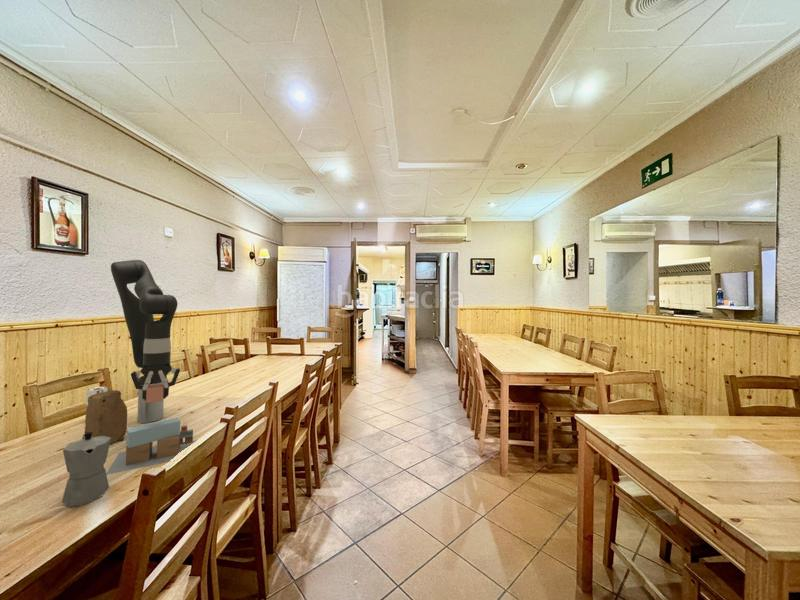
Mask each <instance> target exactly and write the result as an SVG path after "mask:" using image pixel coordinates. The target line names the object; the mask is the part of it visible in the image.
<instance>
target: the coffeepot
mask: <svg viewBox="0 0 800 600" xmlns="http://www.w3.org/2000/svg"><path fill="white" fill-rule="evenodd" d="M92 433H93V432H88V433H85V432H84V434H83V435H82V439H79V440H77V441H73V442H71V443H69V444H67V445H66V446H65V447H64V448H62V451H63V457H64V463H65V466H66V467H65V468H66V472H67V473H69V477H68V479H67V481H66V485H65V488H64V492H63V497H62V500H61V503H62V504H63V506H64V507H66V508H76V507H80V505H81V506H84V505H87V503H88V504H91V503H93V502H94V501H97V500H99V499H101V498H103V495H105V494H106V492H107V491H108V489H109V488H110V485H109V480H108V475H106V473H107V469H106V468H105V466H104V465H105V463H106V462H107V459H108V453H109V449H110V446H111V445H110V441H111V438H110V437H106V436H98V437H91V436H92ZM92 501H93V502H92ZM75 506H76V507H75Z"/></svg>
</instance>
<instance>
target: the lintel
mask: <svg viewBox="0 0 800 600" xmlns="http://www.w3.org/2000/svg"><path fill="white" fill-rule="evenodd" d="M180 431H181V419H179V418H178V416H177V417H172V418H168V419H161V420H158V421H154V422H149V423H143V424H141V425H136V426H132V427H127V430H126V442H125V444H126V447H127V446H128V448H131V447H135V446H138V445H142V444H146V443H150V442H153V443H154V442H157V441H158V440H161V439H165V438H169V437H173V436H177V435H180Z"/></svg>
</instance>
